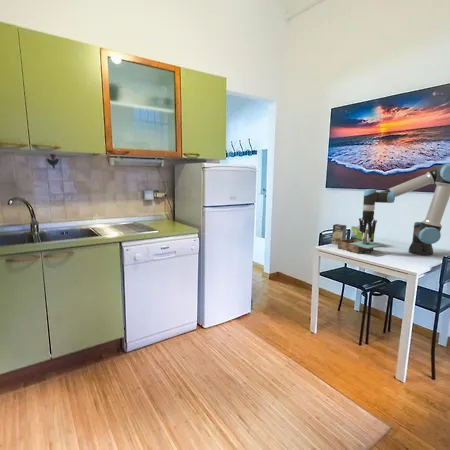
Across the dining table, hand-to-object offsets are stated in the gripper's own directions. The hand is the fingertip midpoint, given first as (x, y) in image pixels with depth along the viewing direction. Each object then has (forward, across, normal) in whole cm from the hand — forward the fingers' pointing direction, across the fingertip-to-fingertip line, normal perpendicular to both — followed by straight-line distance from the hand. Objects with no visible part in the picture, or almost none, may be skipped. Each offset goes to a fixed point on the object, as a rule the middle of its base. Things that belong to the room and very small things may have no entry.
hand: (366, 241), depth 209 cm
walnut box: (+8, -8, 0) cm, 12 cm away
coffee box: (+8, -29, +5) cm, 30 cm away
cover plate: (+3, 0, 0) cm, 3 cm away
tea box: (+8, -18, +20) cm, 28 cm away
